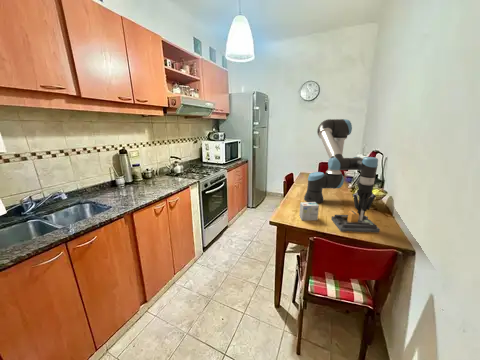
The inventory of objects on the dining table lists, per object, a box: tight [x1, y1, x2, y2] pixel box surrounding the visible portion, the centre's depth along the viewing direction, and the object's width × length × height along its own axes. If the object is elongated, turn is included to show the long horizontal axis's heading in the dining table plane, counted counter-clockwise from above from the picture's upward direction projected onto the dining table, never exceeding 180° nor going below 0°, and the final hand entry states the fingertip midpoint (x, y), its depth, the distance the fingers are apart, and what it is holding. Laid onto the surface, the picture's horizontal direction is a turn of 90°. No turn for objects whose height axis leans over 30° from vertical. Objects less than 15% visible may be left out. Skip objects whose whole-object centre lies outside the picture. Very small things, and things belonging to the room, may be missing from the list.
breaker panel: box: [331, 215, 381, 234], centre depth 125 cm, size 15×22×4 cm
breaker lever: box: [347, 210, 359, 222], centre depth 124 cm, size 5×4×7 cm
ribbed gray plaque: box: [333, 214, 378, 228], centre depth 125 cm, size 14×20×2 cm
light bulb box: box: [298, 201, 320, 221], centre depth 134 cm, size 11×7×11 cm, turn 92°
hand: (359, 219), depth 125 cm, fingers closed
